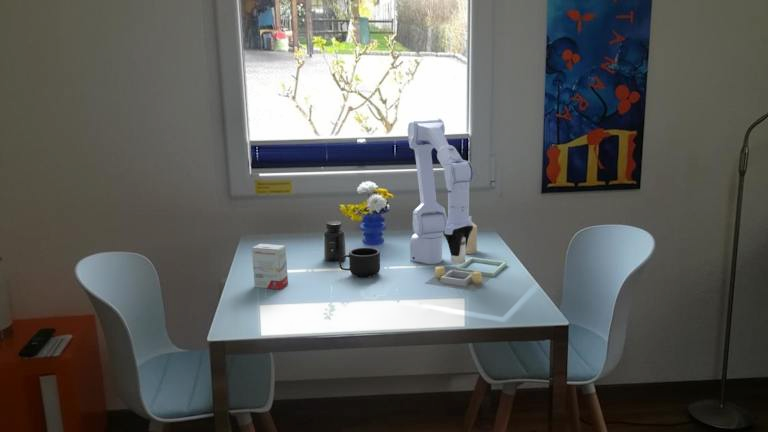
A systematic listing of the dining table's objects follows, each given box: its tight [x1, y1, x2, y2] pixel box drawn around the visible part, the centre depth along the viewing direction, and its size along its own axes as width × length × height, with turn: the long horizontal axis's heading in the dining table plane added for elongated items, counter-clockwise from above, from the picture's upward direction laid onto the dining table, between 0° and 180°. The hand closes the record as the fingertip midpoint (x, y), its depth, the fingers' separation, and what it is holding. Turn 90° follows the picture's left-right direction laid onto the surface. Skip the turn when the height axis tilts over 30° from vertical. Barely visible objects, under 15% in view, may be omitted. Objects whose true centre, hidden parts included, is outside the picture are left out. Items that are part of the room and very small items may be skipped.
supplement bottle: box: [322, 220, 347, 263], centre depth 223 cm, size 7×7×12 cm
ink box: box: [251, 243, 289, 290], centre depth 200 cm, size 9×5×12 cm, turn 71°
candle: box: [465, 222, 478, 255], centre depth 228 cm, size 6×6×10 cm
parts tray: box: [455, 257, 508, 278], centre depth 210 cm, size 12×12×2 cm
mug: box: [338, 247, 381, 279], centre depth 208 cm, size 12×9×7 cm
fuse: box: [450, 236, 466, 265], centre depth 197 cm, size 4×4×7 cm
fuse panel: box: [425, 265, 491, 292], centre depth 199 cm, size 15×12×4 cm
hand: (458, 253), depth 198 cm, fingers closed on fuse, 4 cm apart
